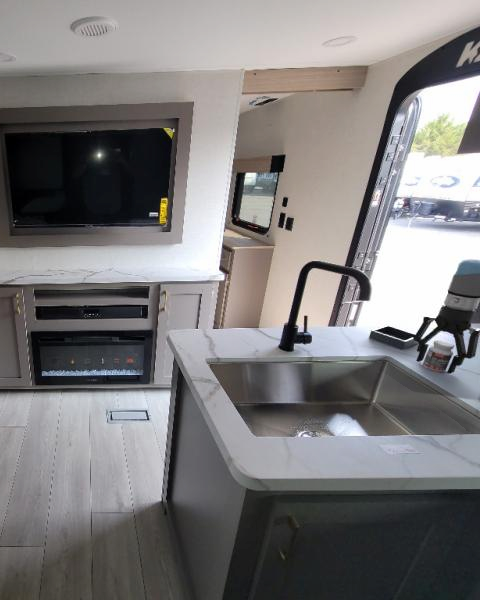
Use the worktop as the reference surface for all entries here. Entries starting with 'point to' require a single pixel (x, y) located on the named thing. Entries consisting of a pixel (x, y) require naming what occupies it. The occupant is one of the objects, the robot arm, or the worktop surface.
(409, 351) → the worktop surface
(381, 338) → the tray
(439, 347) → the pill bottle
